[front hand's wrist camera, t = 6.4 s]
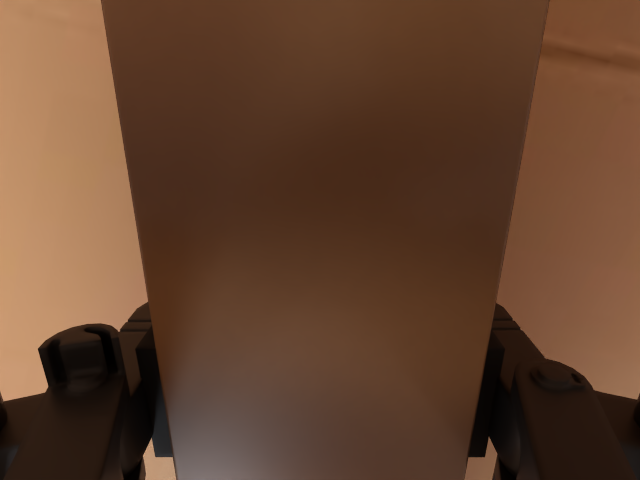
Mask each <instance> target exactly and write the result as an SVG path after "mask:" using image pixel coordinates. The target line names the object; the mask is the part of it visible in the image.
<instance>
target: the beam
mask: <svg viewBox="0 0 640 480" xmlns="http://www.w3.org/2000/svg"><path fill="white" fill-rule="evenodd" d="M549 1H550V0H101V4H102V10H103V16H104V23H105V29H106V36H107V42H108V48H109V55H110V61H111V67H112V74H113V80H114V86H115V93H116V99H117V105H118V112H119V118H120V124H121V131H122V137H123V144H124V150H125V156H126V163H127V169H128V175H129V182H130V188H131V194H132V201H133V207H134V213H135V220H136V226H137V232H138V239H139V245H140V252H141V258H142V264H143V271H144V277H145V283H146V290H147V296H148V302H149V309H150V315H151V321H152V328H153V334H154V340H155V347H156V353H157V360H158V366H159V372H160V379H161V385H162V391H163V398H164V404H165V410H166V417H167V423H168V429H169V436H170V442H171V449H172V455H173V461H174V468H175V474H176V480H464V478H465V473H466V467H467V461H468V456H469V450H470V445H471V439H472V433H473V428H474V422H475V416H476V411H477V405H478V400H479V394H480V388H481V383H482V377H483V372H484V366H485V360H486V355H487V349H488V343H489V338H490V332H491V327H492V321H493V315H494V310H495V304H496V298H497V293H498V287H499V282H500V276H501V270H502V265H503V259H504V253H505V248H506V242H507V237H508V231H509V225H510V220H511V214H512V209H513V203H514V197H515V192H516V186H517V180H518V175H519V169H520V164H521V158H522V152H523V147H524V141H525V135H526V130H527V124H528V119H529V113H530V107H531V102H532V96H533V90H534V85H535V79H536V74H537V68H538V62H539V57H540V51H541V46H542V40H543V34H544V29H545V23H546V17H547V12H548V6H549Z"/></svg>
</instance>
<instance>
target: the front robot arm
mask: <svg viewBox="0 0 640 480" xmlns="http://www.w3.org/2000/svg"><path fill="white" fill-rule="evenodd" d="M38 351H39V355H40V358H41V362H42V365H43V369H44V372H45V376H46V379H47V382H48V388H47V391H46V392H45V393H41V394H38V395H33V396H28V397H23V398H18V399H14V400H9V401H4V402H3V399H2V396H1V393H0V480H145V476H146V472H145V464H144V459H143V454H144V452H145V450H146V448H147V446H148V444H149V442H150V440H151V438H152V441H153V447H154V452H155V457H173V455H172V449H171V442H170V436H169V429H168V423H167V417H166V410H165V404H164V398H163V391H162V385H161V379H160V372H159V366H158V360H157V353H156V347H155V340H154V334H153V328H152V321H151V315H150V309H149V302H147V303H145V304H144V305H142V306H141V307H139V308H137V309H136V311H135V312H134V313H133V314H132V316H131V317H130V318H129V319H128V322H126V323H125V324H124V325H123V327H122V328H121V329H120V332H118V331H117V330H116V329H115V328H114V327H112V326H110V325H106V324H85V325H81V326H76V327H72V328H69V329H67V330H64V331H62V332H59V333H57V334H55V335H54V336H52V337H51V338H49V339H47V340H46V341H45V342H44V343H43V344H42V345H41V346H40V347H39V348H38ZM488 437H490V439H491V441H492V443H493V445H494V447H495V450H496V452H497V459H496V464H495V469H494V474H493V479H492V480H640V394H639V397H638V400H636V399H631V398H626V397H621V396H616V395H612V394H607V393H602V392H598V391H595V390H593V388H592V386H591V384H590V383H589V382H588V381H587V379H586V378H585V377H584V376H583V375H581V374H580V373H579V372H577V371H576V370H574V369H573V368H571V367H569V366H567V365H564V364H562V363H560V362H557V361H553V360H549V359H545V357H544V356H543V355H542V354H541V352H540V351H539V350H538V349H537V348H536V346H535V345H534V344H533V343H532V342H531V340H530V339H529V338H528V337H527V335H526V334H525V333H524V332H523V331H522V330H520V327H519V326H518V325H517V323H516V322H515V321H513V318H512V317H511V316H510V315H509V314H508V312H507V311H506V310H505V309H504V308H503V307H502V306H500V305H499V304H497V303H496V304H495V310H494V315H493V321H492V327H491V332H490V338H489V343H488V349H487V355H486V360H485V366H484V372H483V377H482V383H481V388H480V394H479V400H478V405H477V411H476V416H475V422H474V428H473V433H472V439H471V445H470V450H469V456H468V457H485V453H486V448H487V443H488Z"/></svg>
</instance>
